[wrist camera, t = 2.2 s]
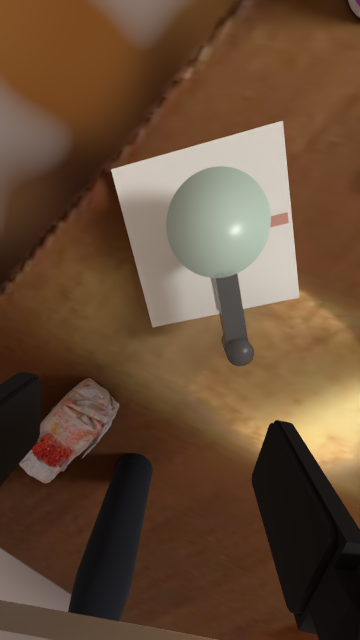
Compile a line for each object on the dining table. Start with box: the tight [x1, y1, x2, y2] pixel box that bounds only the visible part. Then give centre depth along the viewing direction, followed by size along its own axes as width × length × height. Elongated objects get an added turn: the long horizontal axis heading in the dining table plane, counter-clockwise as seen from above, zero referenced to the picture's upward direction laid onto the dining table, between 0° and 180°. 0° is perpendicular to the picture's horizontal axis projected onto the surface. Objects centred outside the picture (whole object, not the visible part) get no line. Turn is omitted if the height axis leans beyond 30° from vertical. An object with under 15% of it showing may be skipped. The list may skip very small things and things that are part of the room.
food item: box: [19, 378, 119, 483], centre depth 32 cm, size 14×8×10 cm, turn 139°
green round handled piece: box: [166, 166, 271, 366], centre depth 22 cm, size 18×9×4 cm, turn 13°
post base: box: [111, 121, 299, 327], centre depth 28 cm, size 20×20×2 cm
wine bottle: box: [68, 454, 152, 621], centre depth 25 cm, size 6×6×30 cm
